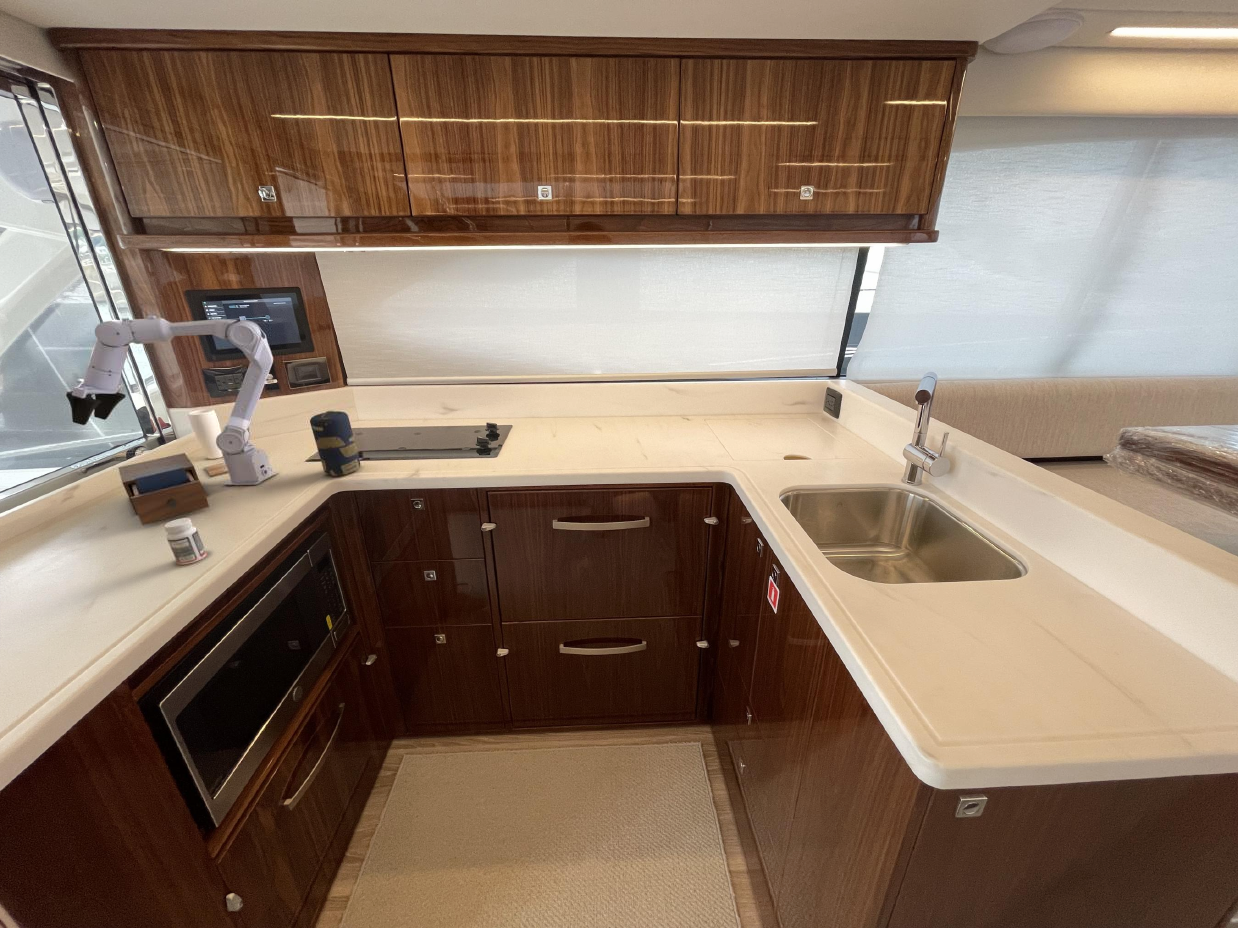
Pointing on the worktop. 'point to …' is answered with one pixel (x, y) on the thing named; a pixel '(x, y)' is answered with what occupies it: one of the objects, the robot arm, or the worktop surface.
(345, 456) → the canister
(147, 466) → the wooden box
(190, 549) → the pill bottle
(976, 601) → the worktop surface
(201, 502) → the drawer
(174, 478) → the book
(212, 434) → the white tapered cylinder
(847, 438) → the worktop surface
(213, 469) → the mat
